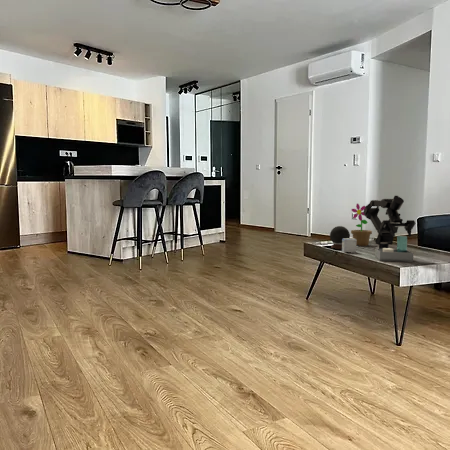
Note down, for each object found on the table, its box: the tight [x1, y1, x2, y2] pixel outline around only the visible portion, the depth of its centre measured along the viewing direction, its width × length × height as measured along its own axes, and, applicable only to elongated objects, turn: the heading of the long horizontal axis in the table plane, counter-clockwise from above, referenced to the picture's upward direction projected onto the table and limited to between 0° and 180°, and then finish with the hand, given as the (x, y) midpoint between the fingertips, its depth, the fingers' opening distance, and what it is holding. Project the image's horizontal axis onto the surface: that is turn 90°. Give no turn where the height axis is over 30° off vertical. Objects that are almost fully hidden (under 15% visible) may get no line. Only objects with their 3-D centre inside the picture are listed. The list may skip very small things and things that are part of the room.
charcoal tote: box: [374, 248, 414, 263], centre depth 239 cm, size 14×18×5 cm
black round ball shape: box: [329, 225, 351, 250], centre depth 285 cm, size 13×13×15 cm
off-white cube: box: [382, 247, 395, 252], centre depth 239 cm, size 5×5×5 cm
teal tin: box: [396, 235, 408, 253], centre depth 236 cm, size 5×5×12 cm
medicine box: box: [341, 237, 357, 254], centre depth 266 cm, size 8×4×9 cm, turn 92°
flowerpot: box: [350, 203, 373, 247], centre depth 301 cm, size 14×14×30 cm
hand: (402, 236), depth 235 cm, fingers open, 9 cm apart
